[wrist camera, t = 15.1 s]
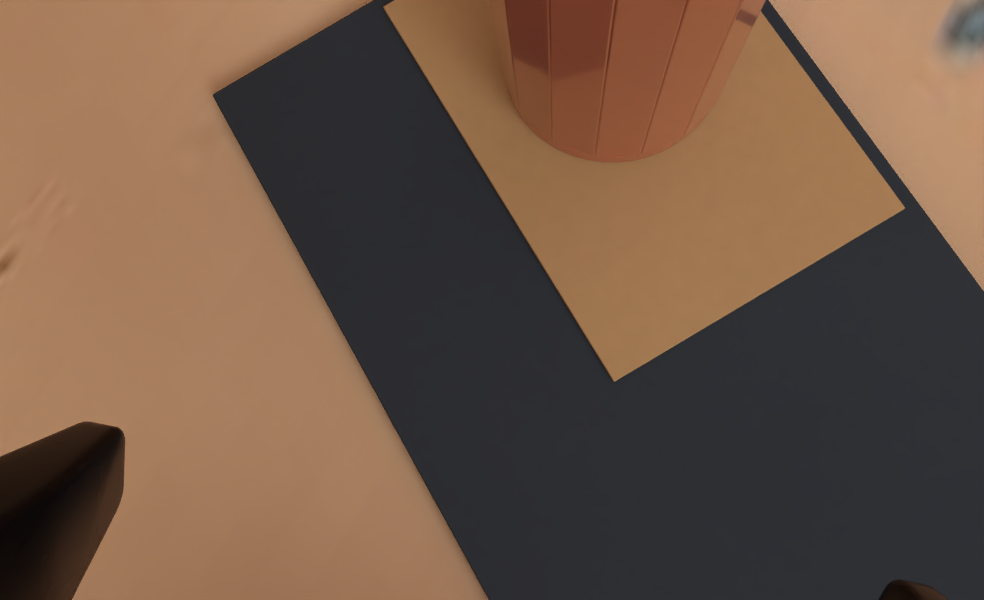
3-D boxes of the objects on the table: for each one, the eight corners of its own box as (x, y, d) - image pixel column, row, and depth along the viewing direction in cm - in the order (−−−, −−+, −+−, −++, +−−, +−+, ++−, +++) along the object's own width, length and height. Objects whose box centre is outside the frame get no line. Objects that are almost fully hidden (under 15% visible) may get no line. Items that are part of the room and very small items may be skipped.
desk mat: (1141, 517, 20) (1158, 519, 20) (619, 832, 20) (621, 845, 19) (647, -153, 25) (650, -167, 24) (217, 99, 24) (209, 91, 24)
